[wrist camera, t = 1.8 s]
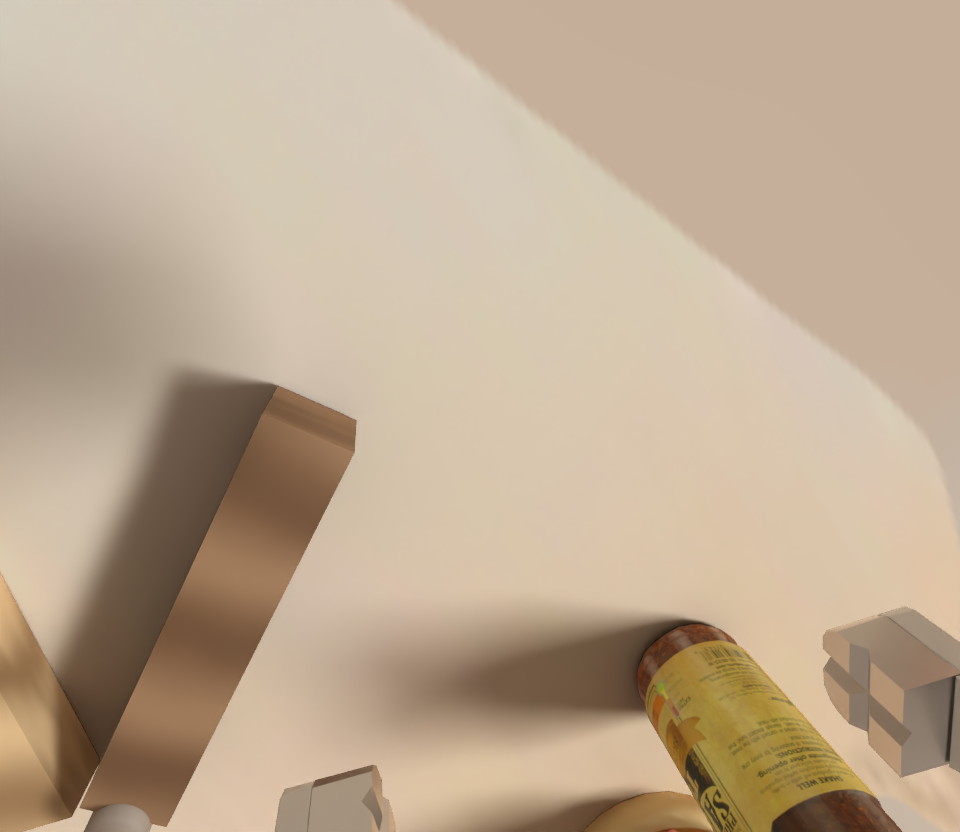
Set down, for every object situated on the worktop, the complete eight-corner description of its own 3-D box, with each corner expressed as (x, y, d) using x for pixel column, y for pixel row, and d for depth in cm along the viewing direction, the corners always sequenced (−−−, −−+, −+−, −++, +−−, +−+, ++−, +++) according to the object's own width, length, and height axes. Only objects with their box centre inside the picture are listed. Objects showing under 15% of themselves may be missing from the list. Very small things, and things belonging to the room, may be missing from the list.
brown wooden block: (178, 777, 30) (143, 879, 25) (104, 759, 29) (53, 862, 24) (356, 420, 26) (353, 462, 22) (278, 385, 25) (257, 421, 21)
